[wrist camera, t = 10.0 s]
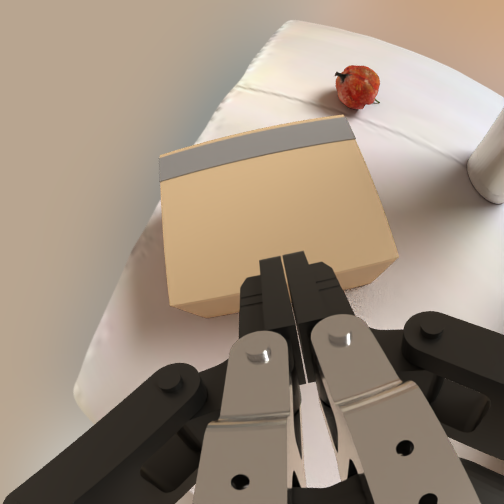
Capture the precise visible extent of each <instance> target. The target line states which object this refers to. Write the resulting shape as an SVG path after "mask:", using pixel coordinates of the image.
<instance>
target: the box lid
mask: <svg viewBox="0 0 504 504" xmlns="http://www.w3.org/2000/svg"><path fill="white" fill-rule="evenodd" d="M355 139H356V138H355V136H354V133H353V131H352V129H351V127H350V125H349V123H348V121H347V119H346V117H344V115H336V116H329V117H322V118H316V119H309V120H303V121H298V122H292V123H287V124H281V125H276V126H271V127H266V128H261V129H257V130H252V131H248V132H243V133H239V134H235V135H231V136H227V137H223V138H219V139H215V140H211V141H207V142H204V143H200V144H196V145H193V146H189V147H186V148H182V149H179V150H176V151H173V152H169V153H166V154H163V155H160V158H159V181H160V183H161V208H162V226H163V241H164V254H165V265H166V276H167V286H168V295H169V303H170V306H172V307H179V306H184V305H190V304H195V303H201V302H206V301H212V300H217V299H222V298H227V297H233V296H238V295H240V287H241V285H242V284H243V282H244V281H245V279H246V278H247V277H252V276H257V275H260V265H259V260H262V259H267V258H271V257H276V256H281V261H282V265H283V269H284V274H285V279H286V283H287V285H288V282H287V277H286V272H285V267H284V262H283V257H282V255H285V254H290V253H294V252H299V251H304V253H305V256H306V258H307V261H308V263H309V264H313V263H318V262H324V263H325V264H327V265H328V266H330V267H331V268H332V269H333V271H334V273H335V275H336V274H340V273H345V272H349V271H353V270H357V269H362V268H366V267H370V266H374V265H378V264H382V263H386V262H390V261H394V260H396V259H397V258H398V257H399V255H398V252H397V249H396V245H395V242H394V239H393V236H392V233H391V230H390V227H389V224H388V221H387V218H386V215H385V212H384V209H383V207H382V204H381V201H380V199H379V196H378V193H377V191H376V188H375V185H374V183H373V180H372V178H371V175H370V173H369V170H368V168H367V166H366V163H365V161H364V158H363V156H362V154H361V151H360V149H359V147H358V145H357V142H356V140H355Z"/></svg>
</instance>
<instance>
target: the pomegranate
mask: <svg viewBox="0 0 504 504" xmlns="http://www.w3.org/2000/svg"><path fill="white" fill-rule="evenodd" d="M335 76H338V77H337V79H336V89H337V91H338V97H339V99H340V101H341V102H343V103H344V104H345V105H346V106H347V107H349V108H352V109H363V108H364V106H365V104H368V105H369V104H372V103H373V102H374V101H377V100H376V99H375V97H376V95H377V93H378V89H379V85H380V80H379V77H378V75H377V74H376V73H375V72H374V71H373V70H372V69H370V68H368V67H366V66H354V65H352V66H348V67H347V68H345V69H344V71H343V72H342V73H338V72H336V74H335ZM377 102H378V101H377ZM378 103H380V102H378Z"/></svg>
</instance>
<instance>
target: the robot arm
mask: <svg viewBox="0 0 504 504" xmlns="http://www.w3.org/2000/svg"><path fill="white" fill-rule="evenodd" d="M467 171H468V175H469V178H470V180H471V182H472V184H473V186H474V187H475V189H476V190H477V191H478V192H479V193H480V194H481V195H482V196H483V197H484V198H485V199H487V200H488V201H490V202H492V203H496V204H501V203H504V108H503V109H502V111H501V113H500V114H499V116H498V117H497V119H496V120H495V122H494V123H493V125H492V126H491V128H490V129H489V131H488V132H487V134H486V135H485V137H484V138H483V140H482V141H481V143H480V144H479V145H478V147H477V148H476V149H475V151H474V152H473V154H472V155H471V156H470V158H469V160H468V163H467ZM282 257H283V262H284V267H285V272H286V277H287V282H288V287H289V292H290V297H291V301H290V297H289V292H288V288H287V283H286V279H285V274H284V269H283V265H282V261H281V256H276V257H271V258H267V259H262V260H259V265H260V275H257V276H252V277H247V278H246V279H245V281H244V282H243V284H242V285H241V287H240V310H239V340H238V341H237V342H236V343H235V344H234V345H233V346H232V348H231V350H230V353H229V358H228V359H227V360H226V361H224V362H223V363H221V364H219V365H217V366H215V367H212V368H210V369H207V370H205V371H202V372H199V373H198V371H197V370H196V369H195V368H194V367H193V366H191V365H189V364H185V363H174V364H170V365H167V366H165V367H162V368H161V369H159V370H158V371H156V372H155V373H154V374H153V375H152V376H151V377H149V378H148V379H147V380H146V381H145V382H144V383H143V384H141V385H140V386H139V387H138V388H137V389H136V390H135V391H133V392H132V393H131V394H130V395H129V396H128V397H126V398H125V399H124V400H123V401H122V402H121V403H119V404H118V405H117V406H116V407H115V408H114V409H112V410H111V411H110V412H109V413H108V414H107V415H105V416H104V417H103V418H102V419H101V420H100V421H98V422H97V423H96V424H95V425H94V426H92V427H91V428H90V429H89V430H88V431H87V432H85V433H84V434H83V435H82V436H81V437H79V438H78V439H77V440H76V441H75V442H73V443H72V444H71V445H70V446H69V447H67V448H66V449H65V450H64V451H63V452H61V453H60V454H59V455H58V456H56V457H55V458H54V459H53V460H51V461H50V462H49V463H48V464H47V465H45V466H44V467H43V468H42V469H40V470H39V471H38V472H37V473H36V474H34V475H33V476H32V477H30V478H29V479H28V480H27V481H25V482H24V483H23V484H22V485H20V486H19V487H18V488H17V489H15V490H14V491H13V492H11V493H10V494H9V495H8V496H7V497H6V499H5V500H4V502H3V504H175V503H176V502H177V501H178V500H179V499H180V498H181V497H183V496H184V495H185V493H187V492H188V491H189V490H190V489H191V488H192V487H193V486H194V485H195V484H196V486H195V492H194V498H193V504H504V476H503V475H501V474H498V473H496V472H494V471H492V470H490V469H487V468H485V467H483V466H481V465H479V464H477V463H474V462H472V461H469V460H466V459H463V458H459V457H458V456H457V454H456V452H455V450H454V448H453V446H452V444H451V442H450V440H449V439H448V437H449V438H452V439H454V440H456V441H458V442H461V443H463V444H465V445H467V446H470V447H472V448H474V449H477V450H479V451H481V452H484V453H486V454H489V455H491V456H494V457H496V458H499V459H501V460H504V335H503V334H500V333H497V332H494V331H491V330H488V329H486V328H483V327H480V326H477V325H474V324H471V323H468V322H466V321H463V320H460V319H457V318H454V317H451V316H448V315H446V314H443V313H439V312H434V311H427V312H421V313H418V314H416V315H414V316H412V317H411V318H409V320H408V321H407V322H406V324H405V326H404V330H377V329H373V328H370V327H368V325H367V324H366V323H365V322H364V321H363V320H362V319H360V318H359V317H356V316H355V314H354V312H353V310H352V308H351V306H350V304H349V302H348V300H347V297H346V295H345V293H344V291H343V289H342V287H341V286H340V283H339V281H338V279H337V277H336V275H335V273H334V271H333V269H332V268H331V267H330V266H328V265H327V264H325V263H324V262H318V263H313V264H309V263H308V261H307V258H306V256H305V253H304V251H299V252H294V253H290V254H285V255H282ZM291 302H292V306H291ZM292 307H293V311H294V315H293V311H292ZM294 316H295V320H294ZM295 321H296V325H297V330H298V335H299V339H300V344H301V349H302V354H303V359H304V364H305V369H306V374H307V379H308V383H311V382H315V381H316V385H317V389H318V395H319V403H320V407H321V410H322V413H323V416H324V420H325V423H326V426H327V429H328V433H329V436H330V439H331V442H332V446H333V449H334V452H335V456H336V460H337V464H338V470H339V475H340V479H341V482H339V483H337V484H335V485H333V486H330V487H327V488H306V477H305V469H304V453H303V433H302V415H301V406H300V405H301V393H300V387H299V385H302V384H306V380H305V374H304V369H303V363H302V358H301V352H300V347H299V341H298V336H297V330H296V325H295ZM445 378H446V379H445ZM452 381H453V382H452ZM457 383H458V384H457ZM464 386H465V387H464ZM469 388H470V389H469ZM474 390H475V391H474ZM479 392H480V393H479Z"/></svg>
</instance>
